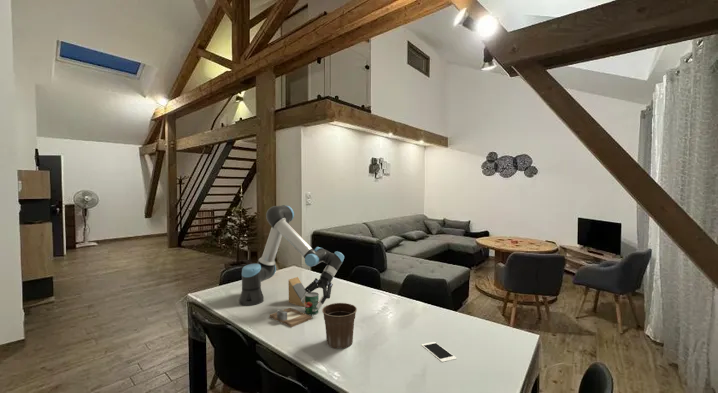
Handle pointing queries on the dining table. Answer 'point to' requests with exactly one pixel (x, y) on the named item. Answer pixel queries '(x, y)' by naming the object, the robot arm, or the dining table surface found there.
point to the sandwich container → (296, 291)
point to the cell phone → (438, 351)
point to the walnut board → (290, 317)
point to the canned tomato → (311, 303)
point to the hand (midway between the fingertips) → (309, 305)
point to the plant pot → (339, 324)
